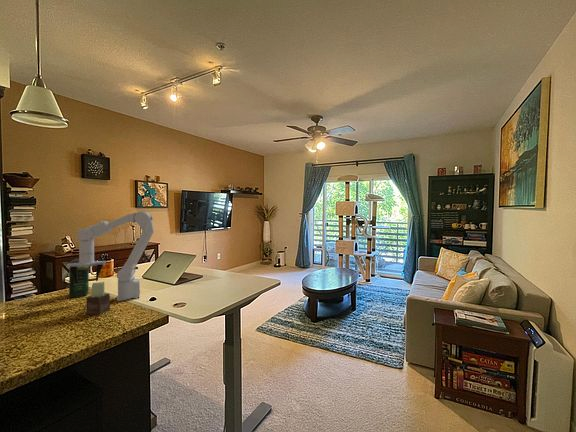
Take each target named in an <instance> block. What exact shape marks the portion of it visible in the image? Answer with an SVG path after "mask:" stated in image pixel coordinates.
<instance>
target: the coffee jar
mask: <svg viewBox="0 0 576 432" xmlns="http://www.w3.org/2000/svg"><path fill="white" fill-rule="evenodd" d="M78 262H79V257H78V258H74V259H72V260H70V261H69V263H68V264H70V263H78ZM82 266H85V265H82ZM89 267H90V266H87V267H78V273H77V275H78V283H76V282H75V279H74V276H73V274H72V273H71V271H70V268H68V271H69V274H68V279H69V284H68V286H69V287H68V288H69V289H68V294H69V295H68V296H69V297H70V298H80V297H84V296H86V295H88V294H89V288H90V287H89V285H90V284H89V279H90V277H89V275H90V271H89V270H90V268H89Z"/></svg>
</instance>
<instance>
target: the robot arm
mask: <svg viewBox="0 0 576 432" xmlns="http://www.w3.org/2000/svg"><path fill="white" fill-rule="evenodd" d="M126 223H127V224H128V223H136V224H137V225H138V226H139V227H140V229H141V234H140V235H139V238H138V239H137V242H136V244H135V245H134V247H133V249H132V250H131V253H130V254H129V256H128V258H127V260H126V262H124V265H123V266H122V268H121V269H119V270H118V271H117V273H116V277H117V296H116V301H117V302H121V301H128V300H127V299H129V300H131V299H130V298H136V299H139V298H138V297H140V294H141V289H140V286H141V285H140V278H135V276H134V275H135V273H136V267H137V265H138V262H139V261H140V258H141V257H142V255H143V253H144V252H145V249H146V247H147V246H148V244H149V242H150V241H151V238H152V236H153V234H154V232H155V228H154V227H155V225H154V218H153V217H152V215H151V213H150V212H148V211H146V210H143V211H142V210H141V211H138V212H132V213H129V214H126V215H123V216H121V217H119V218H116V219H114V220H112V221H107V220H100V221H98V223H95V224H93V225H91V224H90V225H87V227H83V228H81V229H80V230H78V231H77V233H76V236H77V238H78V240H79V241H78V243H79V244H78V254H79V255H78V256H79V257H78V258H79V262H78V263H70V262H69V263H70V264H69V263H67V265H66V269H69V268H70V271H71V273H72V274H73V276H74V279H75V282H76V283H78V275H77V273H78V267H87V266H89V267H95V273H96V274H95V282H98V281H99V280H98V279H99V276H100V273H101V270H102V269H103V266H106V260H95V238H97V237H100V236H103V235H104V234H109V233H111V231H112V230H113V228H116V227H118V226H122V225H124V224H126ZM82 265H85V266H82Z"/></svg>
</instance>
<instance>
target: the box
mask: <svg viewBox="0 0 576 432" xmlns="http://www.w3.org/2000/svg"><path fill="white" fill-rule="evenodd" d="M110 295H111V294H110V293H106V292H104V296H99V297H92V294H91V295H89V296H86V298H85V299H86V303H85V304H86V315H95V316H96V315H97V316H98V315H102V314H105V313H106V312H108V311H110V309H111V307H110V306H111V304H110V299H111V297H110Z"/></svg>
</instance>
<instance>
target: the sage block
mask: <svg viewBox="0 0 576 432" xmlns="http://www.w3.org/2000/svg"><path fill="white" fill-rule="evenodd" d="M104 293H105V281H101V282H93V283H92V284H91V295H92V297H99V296H104Z"/></svg>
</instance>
